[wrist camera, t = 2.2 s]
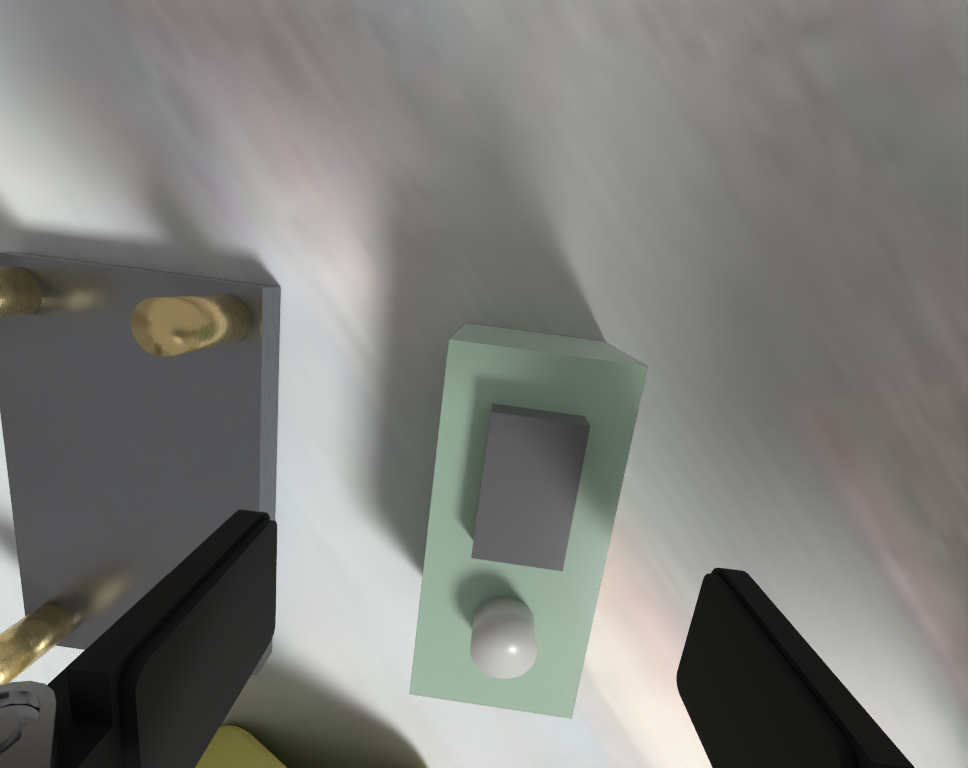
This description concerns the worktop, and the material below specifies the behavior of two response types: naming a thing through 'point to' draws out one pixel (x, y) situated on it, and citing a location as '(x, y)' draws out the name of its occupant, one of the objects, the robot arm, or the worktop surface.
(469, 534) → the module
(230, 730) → the plastic component
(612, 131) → the worktop surface
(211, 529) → the chassis
